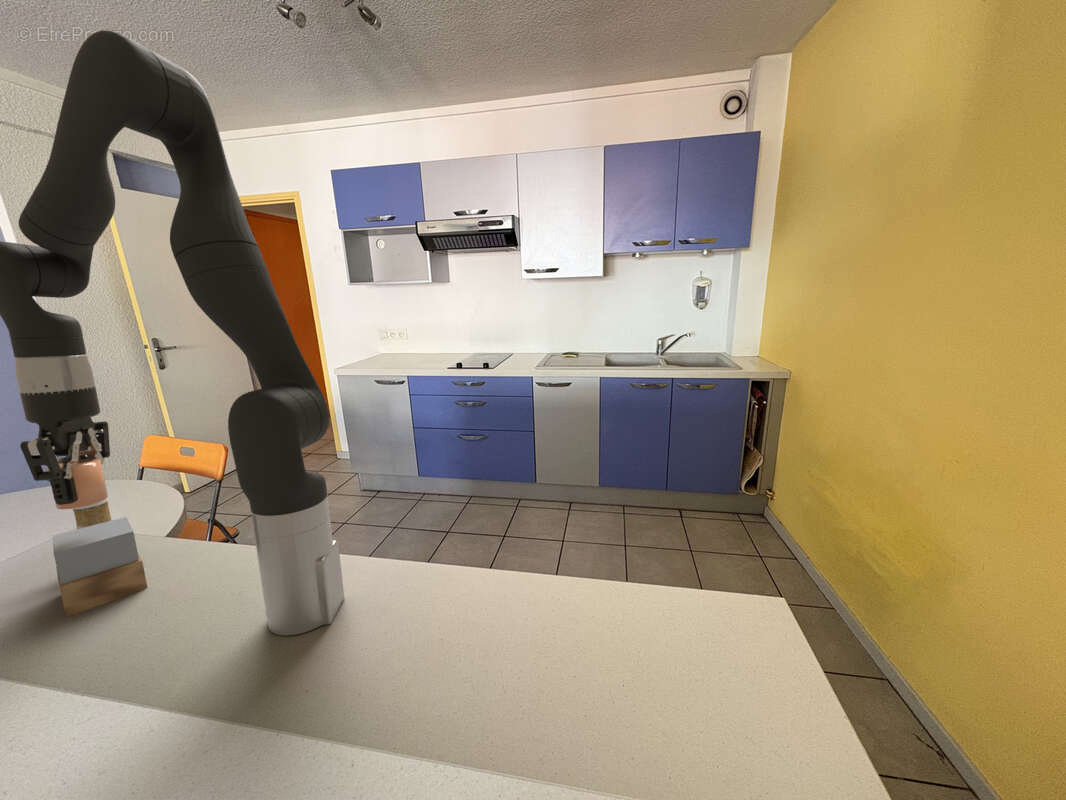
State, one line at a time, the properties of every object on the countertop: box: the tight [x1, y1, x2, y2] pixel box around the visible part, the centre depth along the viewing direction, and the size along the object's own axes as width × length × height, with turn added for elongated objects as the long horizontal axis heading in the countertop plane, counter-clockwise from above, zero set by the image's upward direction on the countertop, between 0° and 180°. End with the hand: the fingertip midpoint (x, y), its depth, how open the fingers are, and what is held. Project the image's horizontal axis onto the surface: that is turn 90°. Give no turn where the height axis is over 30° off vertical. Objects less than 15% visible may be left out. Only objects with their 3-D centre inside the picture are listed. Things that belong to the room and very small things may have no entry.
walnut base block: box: [55, 553, 149, 618], centre depth 68 cm, size 9×9×5 cm
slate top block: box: [51, 516, 139, 585], centre depth 68 cm, size 8×8×5 cm
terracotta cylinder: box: [54, 459, 109, 510], centre depth 65 cm, size 6×6×6 cm
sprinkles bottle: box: [72, 496, 112, 530], centre depth 75 cm, size 5×5×13 cm
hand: (81, 495), depth 66 cm, fingers closed on terracotta cylinder, 5 cm apart
